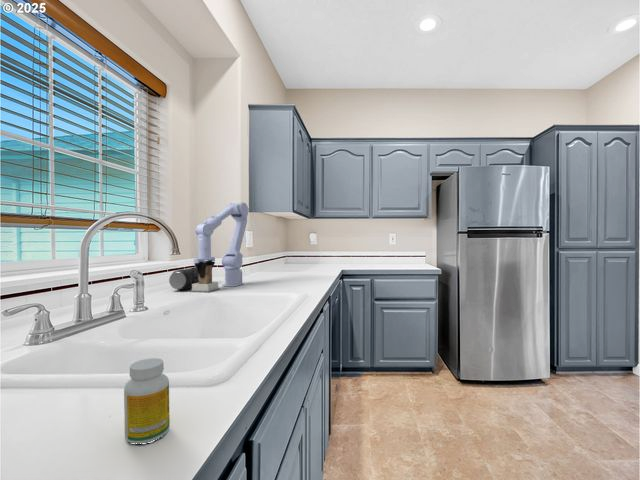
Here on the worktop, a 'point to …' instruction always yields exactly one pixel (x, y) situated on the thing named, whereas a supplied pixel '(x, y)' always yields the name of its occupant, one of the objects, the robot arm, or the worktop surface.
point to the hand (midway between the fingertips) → (205, 277)
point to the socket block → (205, 287)
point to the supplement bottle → (146, 402)
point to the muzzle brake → (184, 278)
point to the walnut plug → (207, 275)
